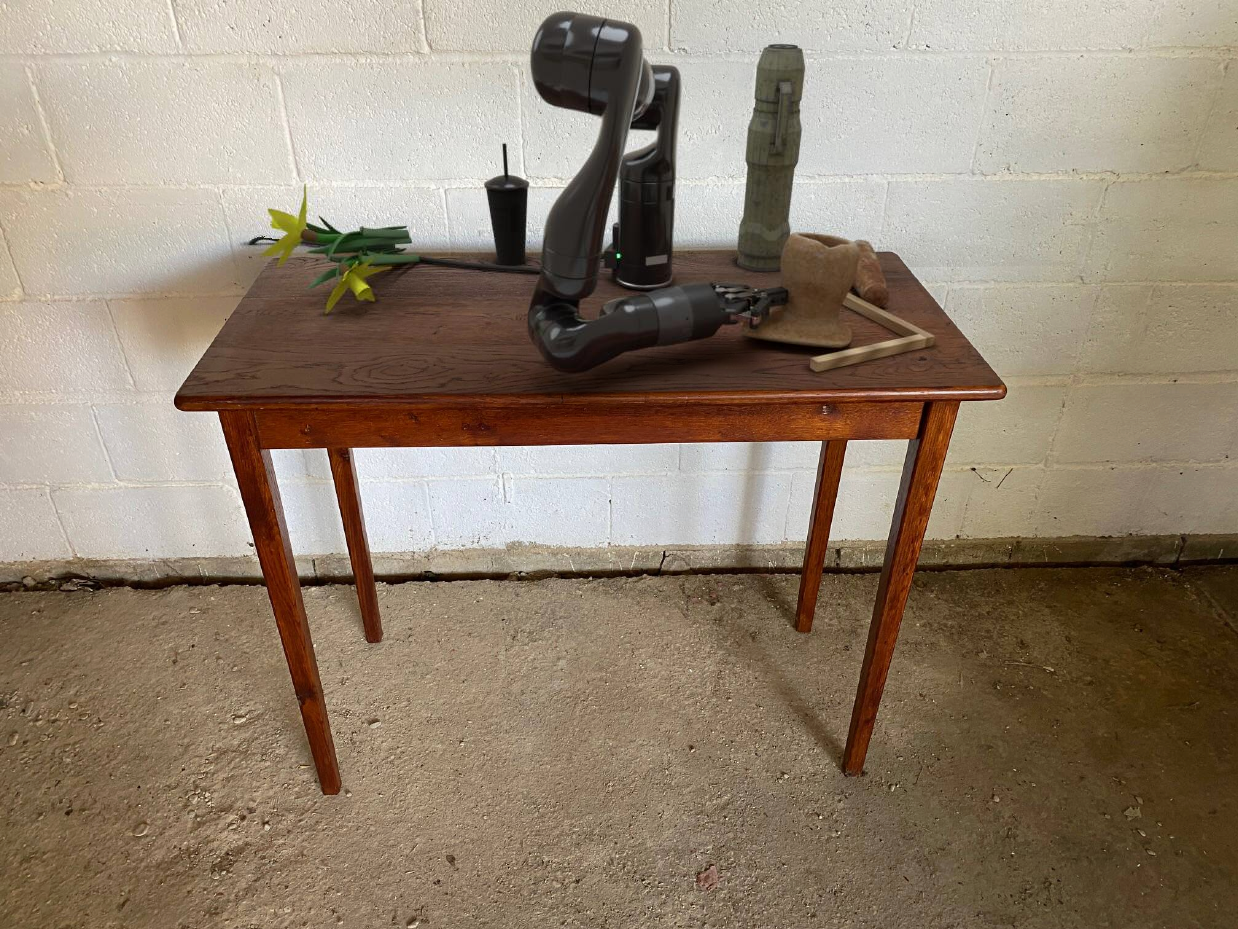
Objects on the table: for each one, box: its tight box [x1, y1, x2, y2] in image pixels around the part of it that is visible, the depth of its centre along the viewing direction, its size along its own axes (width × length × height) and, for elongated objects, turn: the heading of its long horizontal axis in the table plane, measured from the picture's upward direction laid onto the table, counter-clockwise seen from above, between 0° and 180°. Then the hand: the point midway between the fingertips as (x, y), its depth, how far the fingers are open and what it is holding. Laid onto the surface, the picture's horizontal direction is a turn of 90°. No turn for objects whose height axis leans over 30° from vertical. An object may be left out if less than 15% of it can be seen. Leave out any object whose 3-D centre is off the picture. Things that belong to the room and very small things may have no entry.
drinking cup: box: [483, 142, 530, 266], centre depth 144 cm, size 8×8×20 cm
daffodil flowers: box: [259, 182, 422, 315], centre depth 132 cm, size 17×15×35 cm
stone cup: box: [740, 231, 860, 349], centre depth 118 cm, size 15×12×15 cm
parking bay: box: [770, 292, 935, 373], centre depth 124 cm, size 20×22×2 cm
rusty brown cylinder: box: [851, 239, 890, 308], centre depth 137 cm, size 6×19×6 cm, turn 175°
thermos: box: [736, 43, 806, 273], centre depth 140 cm, size 9×12×35 cm
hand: (785, 294), depth 117 cm, fingers closed
